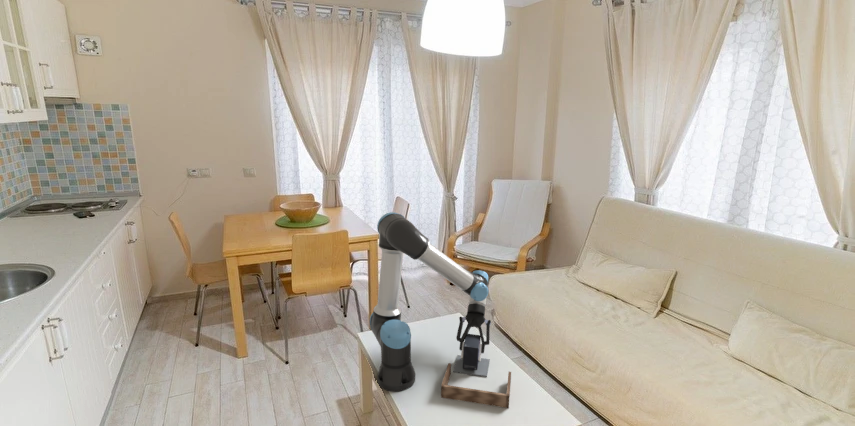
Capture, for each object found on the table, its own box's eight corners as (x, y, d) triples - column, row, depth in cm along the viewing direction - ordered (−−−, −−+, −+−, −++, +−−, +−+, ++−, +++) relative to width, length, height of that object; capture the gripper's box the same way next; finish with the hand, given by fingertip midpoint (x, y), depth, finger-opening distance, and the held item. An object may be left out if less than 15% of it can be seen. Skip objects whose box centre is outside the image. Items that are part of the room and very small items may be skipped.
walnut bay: (440, 397, 162) (441, 385, 161) (448, 373, 176) (448, 363, 175) (508, 408, 156) (509, 396, 155) (510, 382, 171) (511, 371, 169)
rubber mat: (452, 372, 177) (452, 371, 177) (457, 356, 189) (457, 355, 188) (486, 377, 174) (486, 375, 174) (489, 360, 185) (489, 359, 185)
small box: (478, 371, 175) (478, 348, 173) (462, 369, 177) (462, 346, 174) (480, 356, 185) (481, 334, 183) (465, 354, 187) (465, 332, 184)
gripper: (499, 310, 189) (494, 365, 178) (455, 306, 193) (448, 358, 182) (499, 305, 183) (494, 360, 171) (453, 300, 187) (446, 354, 176)
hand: (470, 359), depth 177 cm, fingers closed on small box, 6 cm apart
